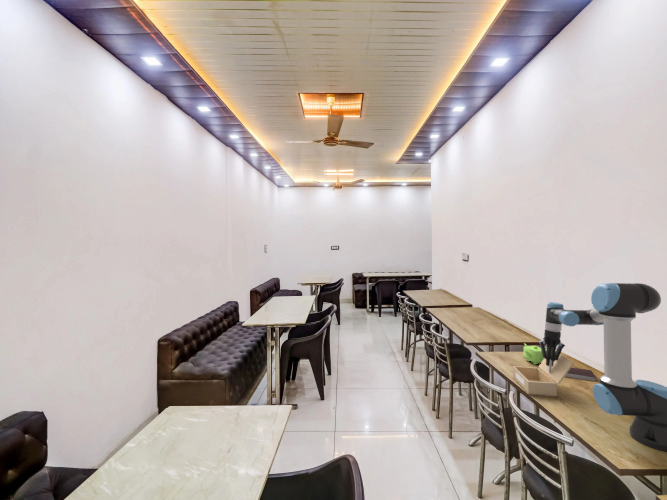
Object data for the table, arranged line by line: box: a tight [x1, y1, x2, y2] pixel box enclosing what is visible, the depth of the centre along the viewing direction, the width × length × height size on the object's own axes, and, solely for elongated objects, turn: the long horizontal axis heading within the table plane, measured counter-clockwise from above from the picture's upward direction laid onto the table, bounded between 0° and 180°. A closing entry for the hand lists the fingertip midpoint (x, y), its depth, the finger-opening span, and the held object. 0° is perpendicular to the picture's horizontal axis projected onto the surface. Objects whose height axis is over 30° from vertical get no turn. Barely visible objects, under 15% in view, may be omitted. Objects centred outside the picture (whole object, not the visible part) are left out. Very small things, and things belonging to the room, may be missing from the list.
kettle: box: [523, 343, 547, 365], centre depth 218 cm, size 15×14×11 cm
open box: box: [512, 365, 558, 397], centre depth 181 cm, size 22×14×7 cm, turn 170°
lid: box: [537, 351, 575, 384], centre depth 179 cm, size 23×13×1 cm
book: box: [564, 367, 597, 382], centre depth 197 cm, size 12×19×3 cm, turn 63°
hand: (548, 371), depth 179 cm, fingers closed
